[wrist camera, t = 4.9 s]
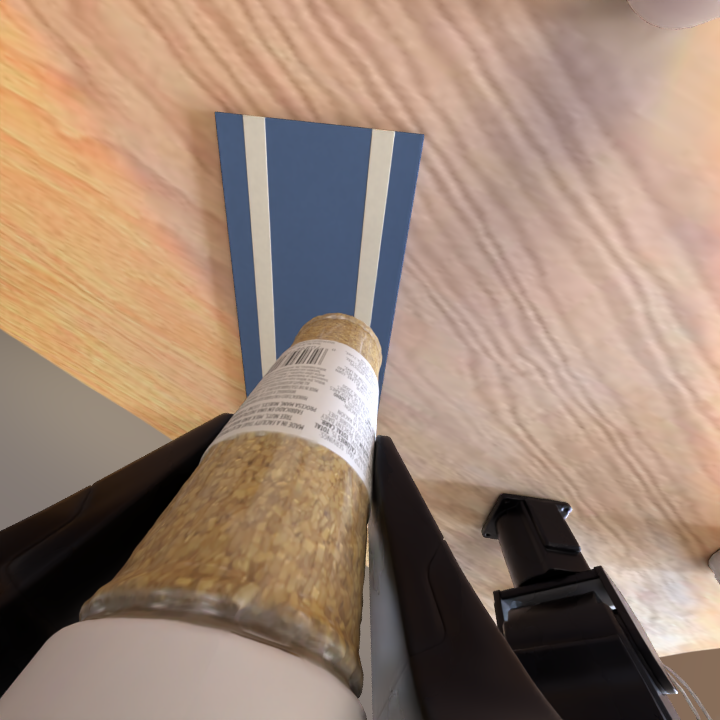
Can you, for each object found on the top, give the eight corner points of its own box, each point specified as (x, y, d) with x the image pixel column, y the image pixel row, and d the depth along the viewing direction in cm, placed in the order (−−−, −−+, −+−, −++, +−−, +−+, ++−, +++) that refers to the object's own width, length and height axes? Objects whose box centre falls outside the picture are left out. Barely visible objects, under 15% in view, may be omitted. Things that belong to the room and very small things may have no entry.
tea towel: (374, 426, 24) (374, 429, 24) (250, 409, 24) (248, 412, 24) (423, 135, 15) (424, 134, 14) (218, 113, 15) (214, 111, 15)
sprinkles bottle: (304, 390, 16) (31, 944, 4) (287, 312, 14) (-430, 975, 2) (386, 388, 15) (372, 1037, 3) (381, 306, 13) (285, 1247, 1)
